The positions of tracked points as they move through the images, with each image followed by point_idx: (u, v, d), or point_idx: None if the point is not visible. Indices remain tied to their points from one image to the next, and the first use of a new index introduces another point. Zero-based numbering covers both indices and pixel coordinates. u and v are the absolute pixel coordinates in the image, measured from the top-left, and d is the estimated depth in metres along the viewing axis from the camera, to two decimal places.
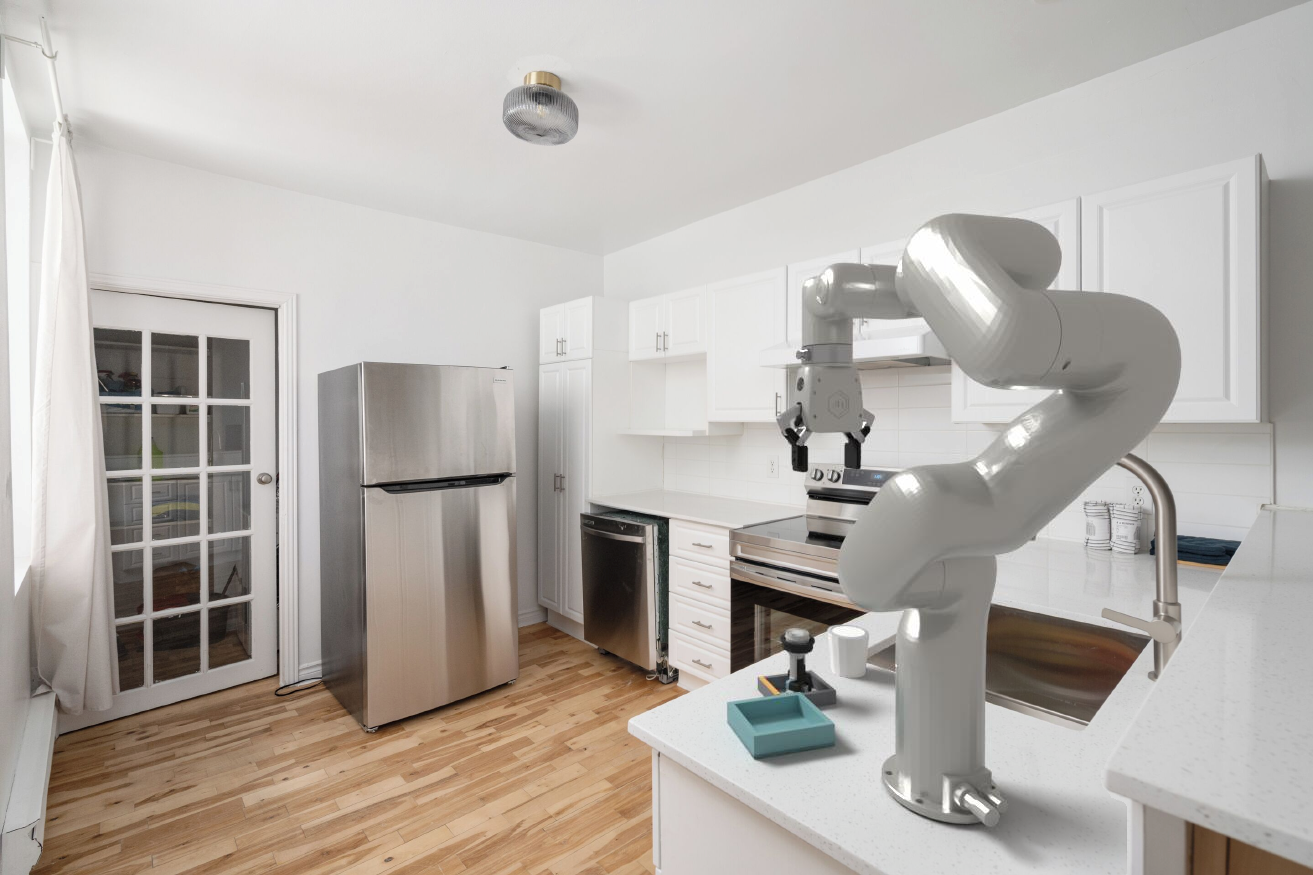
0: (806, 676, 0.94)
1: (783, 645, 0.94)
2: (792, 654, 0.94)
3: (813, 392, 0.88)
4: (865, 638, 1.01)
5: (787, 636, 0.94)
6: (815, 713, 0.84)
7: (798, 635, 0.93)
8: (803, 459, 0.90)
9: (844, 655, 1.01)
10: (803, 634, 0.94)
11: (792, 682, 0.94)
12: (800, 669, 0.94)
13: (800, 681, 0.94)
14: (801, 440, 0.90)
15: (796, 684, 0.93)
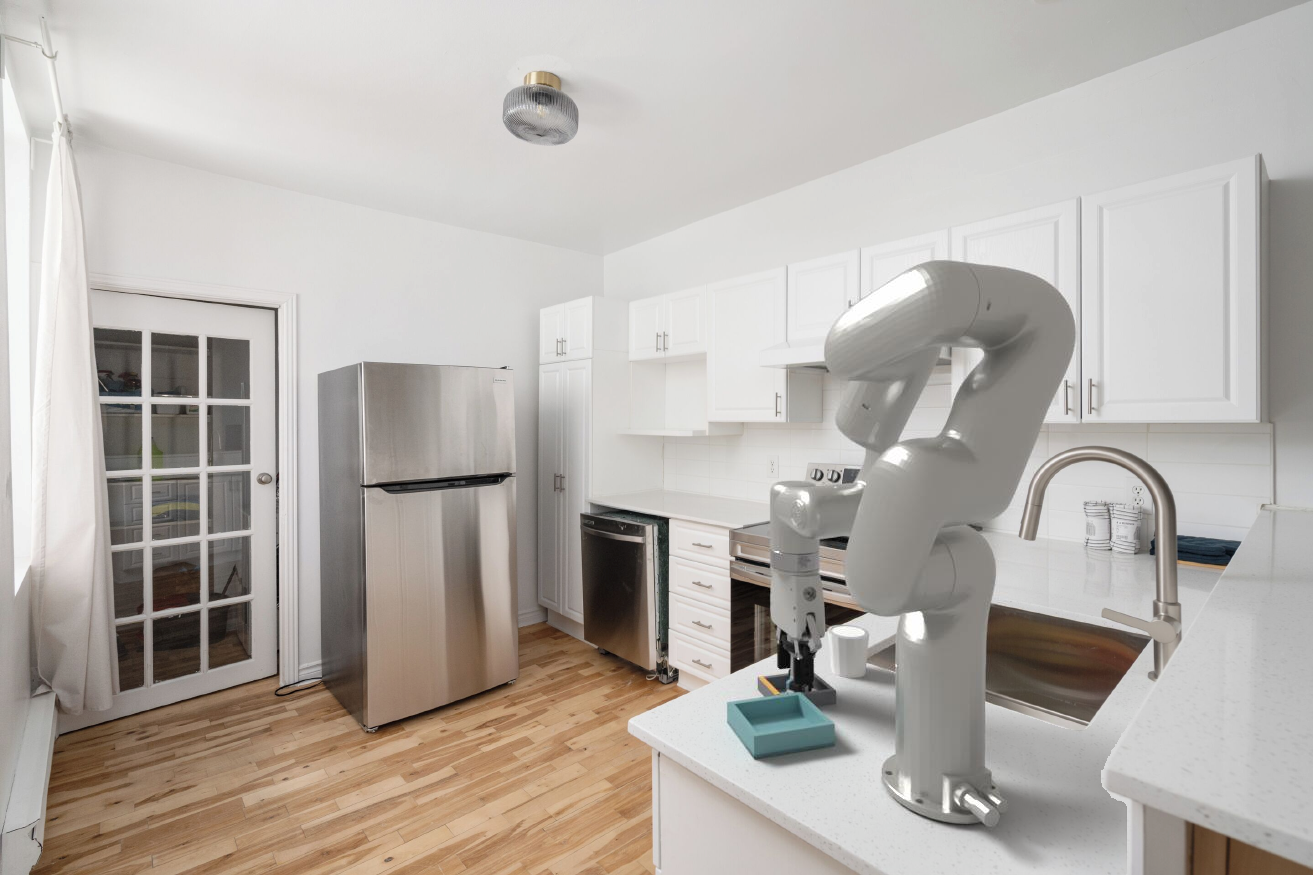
0: None
1: (784, 645, 0.94)
2: (793, 654, 0.93)
3: (823, 599, 0.91)
4: (865, 638, 1.01)
5: (789, 636, 0.94)
6: (815, 713, 0.84)
7: None
8: (811, 669, 0.92)
9: (844, 655, 1.01)
10: (805, 635, 0.93)
11: (793, 682, 0.93)
12: None
13: None
14: None
15: (797, 684, 0.93)
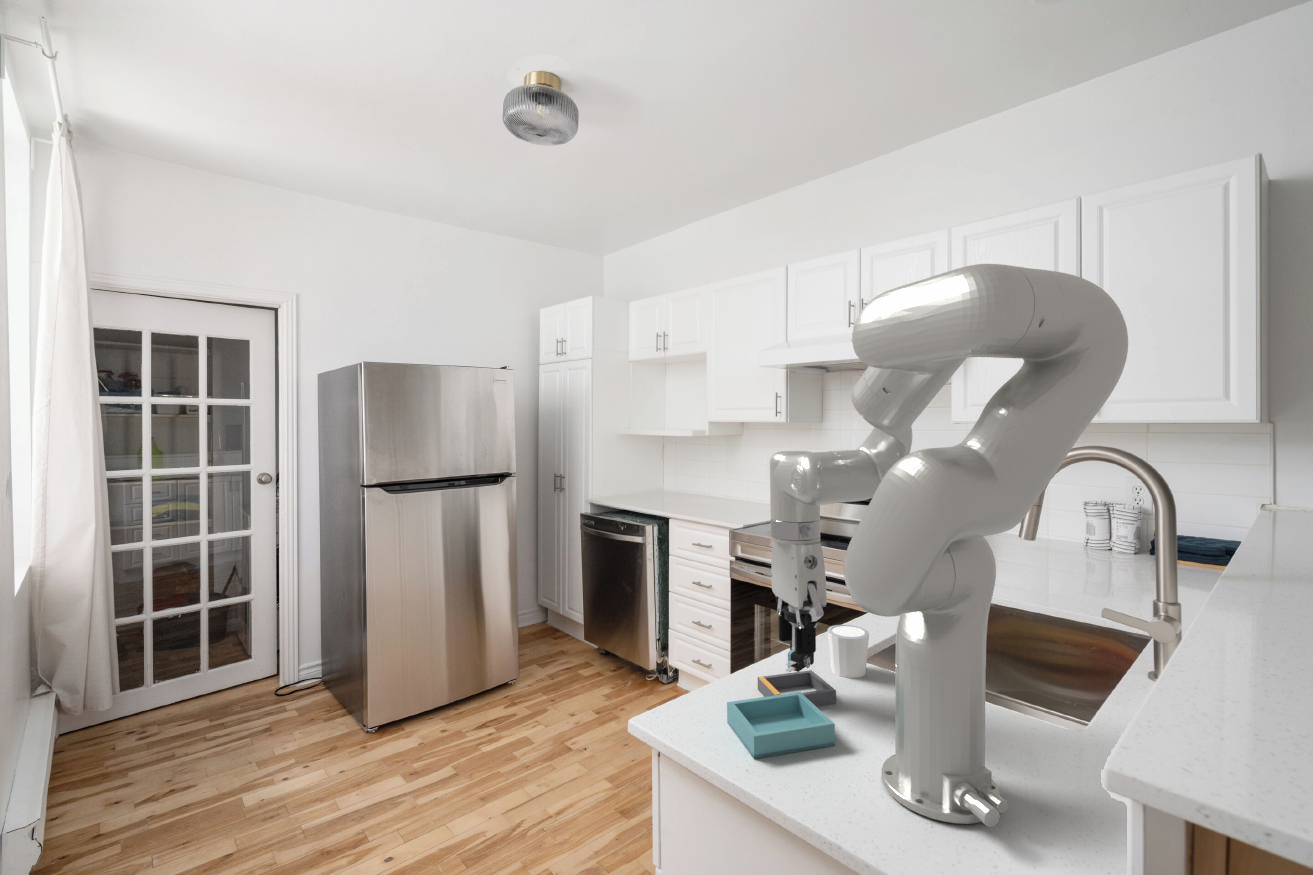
0: None
1: (786, 616, 0.93)
2: (795, 625, 0.93)
3: (824, 568, 0.90)
4: (865, 638, 1.01)
5: (790, 607, 0.94)
6: (815, 713, 0.84)
7: None
8: (813, 639, 0.91)
9: (844, 655, 1.01)
10: (806, 605, 0.93)
11: (794, 653, 0.93)
12: None
13: None
14: None
15: (798, 655, 0.92)
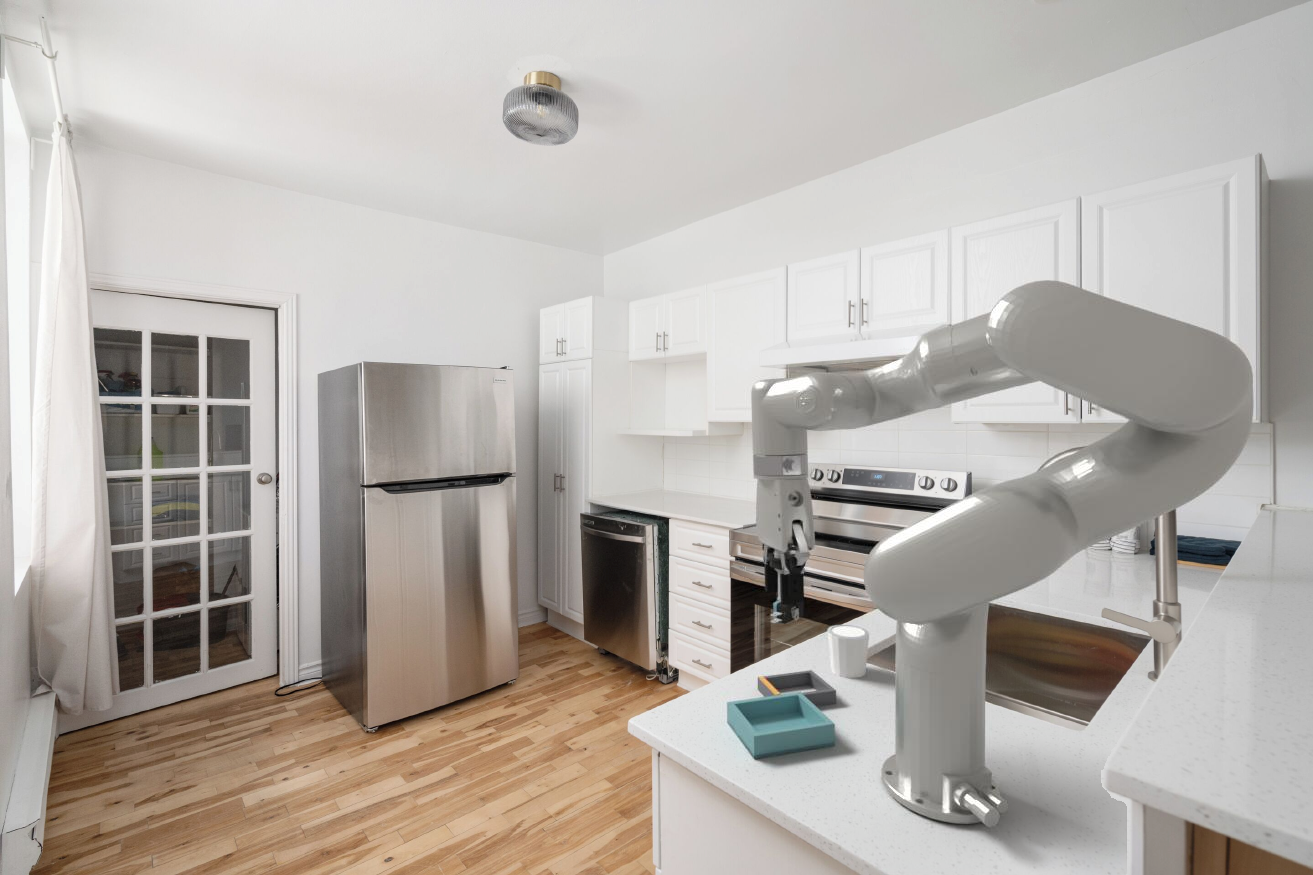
0: None
1: (771, 562, 0.84)
2: (781, 572, 0.83)
3: (811, 506, 0.81)
4: (865, 638, 1.01)
5: (775, 552, 0.84)
6: (815, 713, 0.84)
7: None
8: (801, 587, 0.82)
9: (844, 655, 1.01)
10: None
11: (780, 603, 0.83)
12: None
13: None
14: None
15: (785, 605, 0.83)
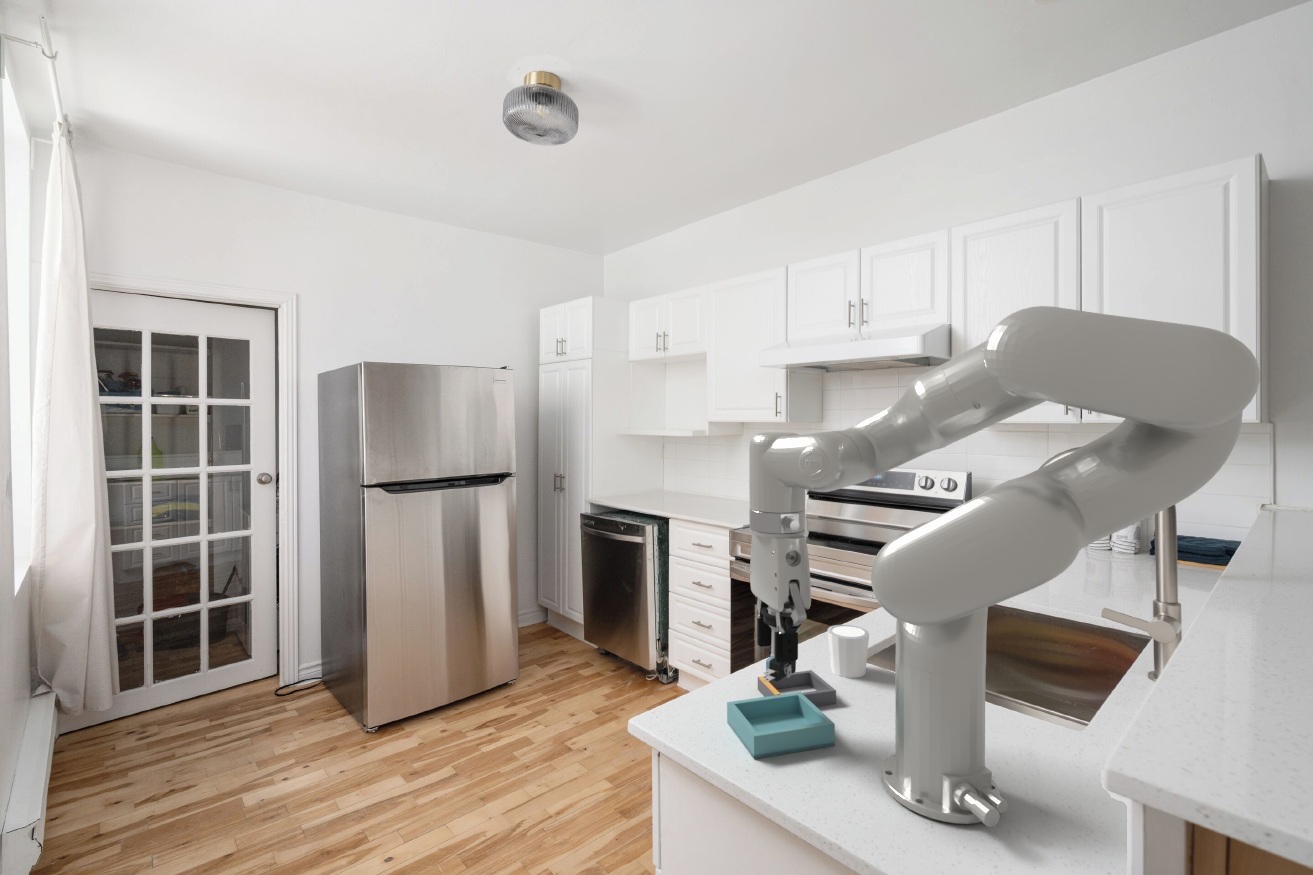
0: None
1: (765, 618, 0.83)
2: (775, 629, 0.82)
3: (808, 565, 0.79)
4: (865, 638, 1.01)
5: (770, 608, 0.83)
6: (815, 713, 0.84)
7: None
8: (795, 646, 0.81)
9: (844, 655, 1.01)
10: (788, 606, 0.82)
11: (773, 660, 0.82)
12: None
13: None
14: None
15: (778, 663, 0.81)
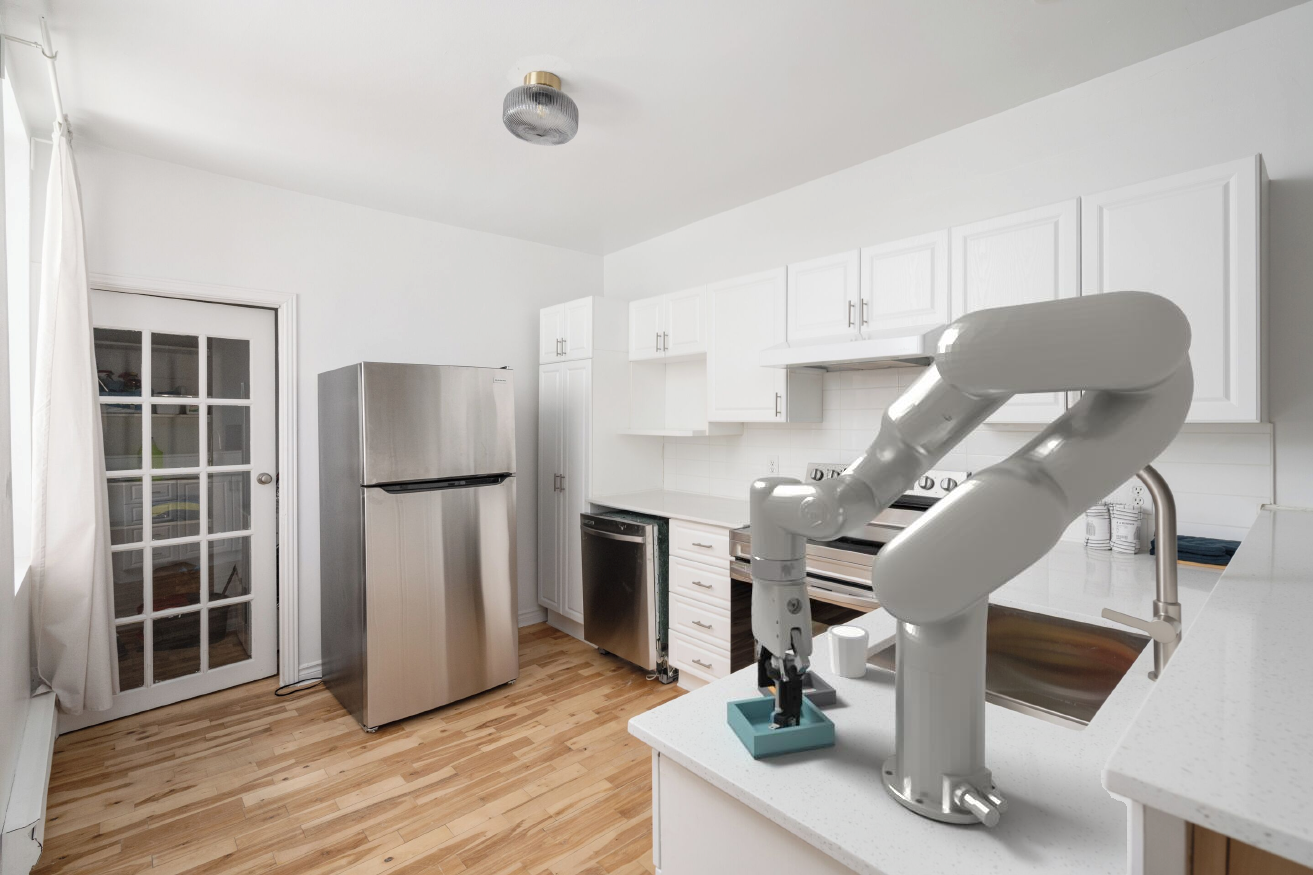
0: (794, 708, 0.83)
1: (768, 672, 0.83)
2: (778, 682, 0.82)
3: (810, 612, 0.79)
4: (865, 638, 1.01)
5: (773, 661, 0.83)
6: (815, 713, 0.84)
7: (786, 661, 0.82)
8: (799, 692, 0.80)
9: (844, 655, 1.01)
10: (791, 660, 0.83)
11: (778, 714, 0.82)
12: None
13: (787, 713, 0.82)
14: None
15: (782, 717, 0.82)
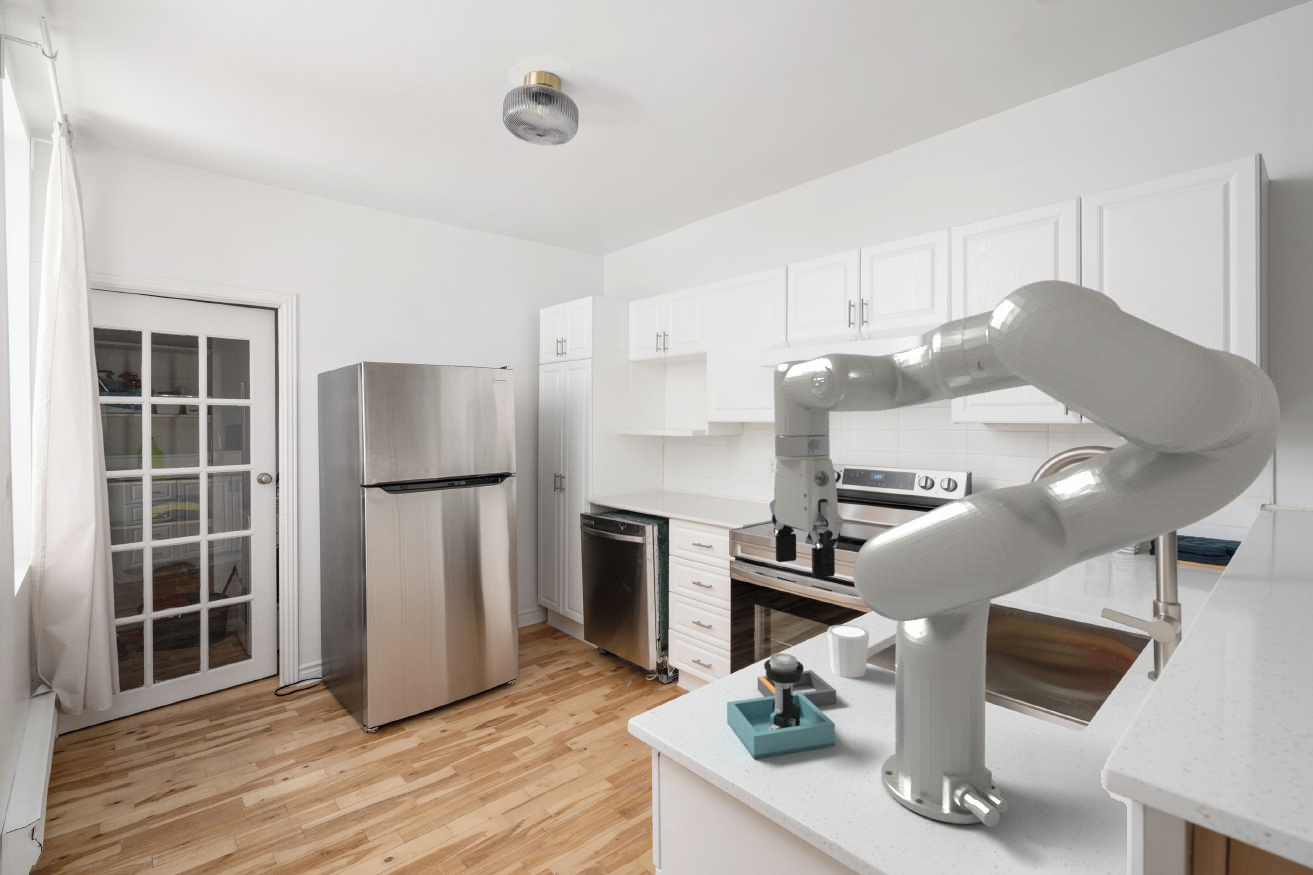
0: (793, 708, 0.83)
1: (767, 673, 0.83)
2: (777, 684, 0.82)
3: (835, 486, 0.82)
4: (865, 638, 1.01)
5: (772, 663, 0.83)
6: (815, 713, 0.84)
7: (784, 662, 0.82)
8: None
9: (844, 655, 1.01)
10: (790, 661, 0.82)
11: (777, 715, 0.82)
12: (787, 701, 0.82)
13: (787, 714, 0.82)
14: None
15: (782, 718, 0.82)
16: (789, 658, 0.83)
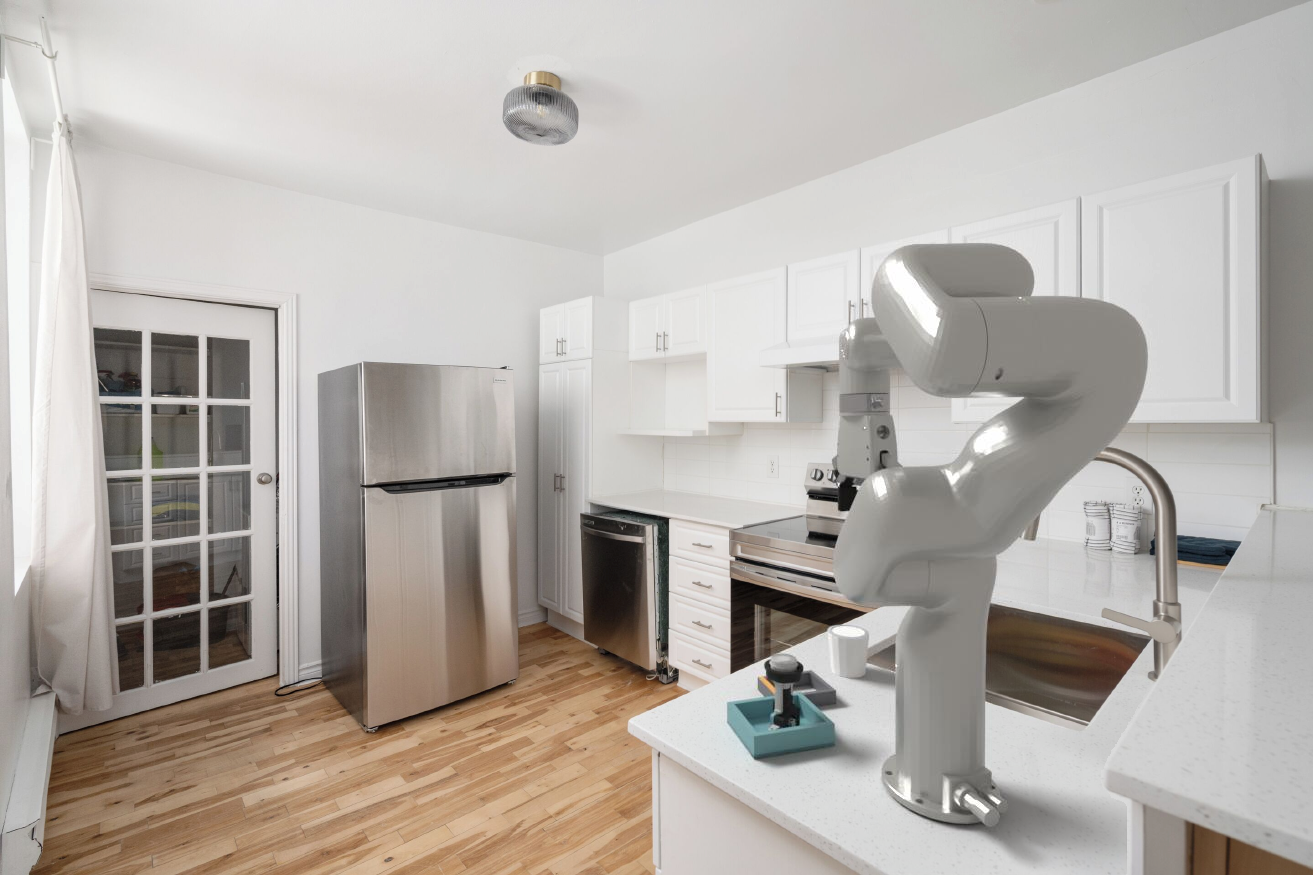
0: (793, 708, 0.83)
1: (767, 673, 0.83)
2: (777, 684, 0.82)
3: (895, 440, 0.90)
4: (865, 638, 1.01)
5: (772, 663, 0.83)
6: (815, 713, 0.84)
7: (784, 662, 0.82)
8: None
9: (844, 655, 1.01)
10: (790, 661, 0.82)
11: (777, 715, 0.82)
12: (787, 701, 0.82)
13: (787, 714, 0.82)
14: None
15: (782, 718, 0.82)
16: (789, 658, 0.83)
